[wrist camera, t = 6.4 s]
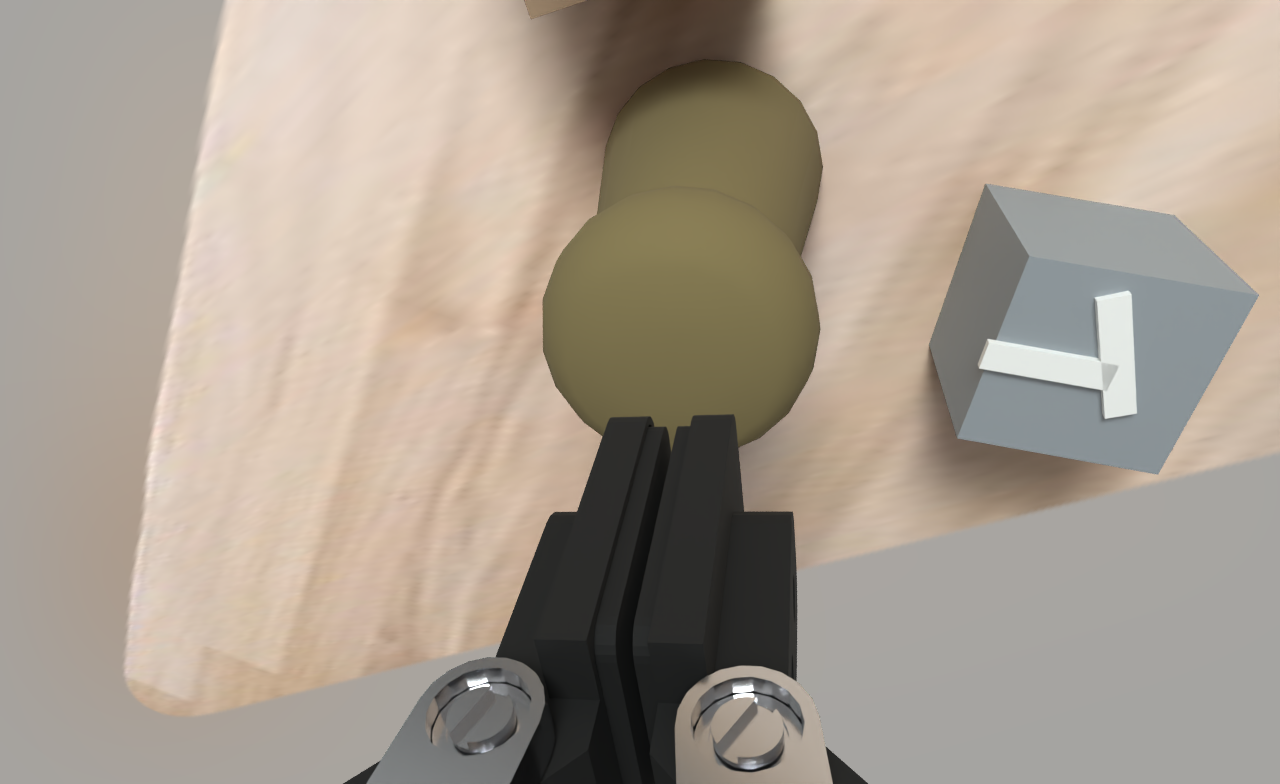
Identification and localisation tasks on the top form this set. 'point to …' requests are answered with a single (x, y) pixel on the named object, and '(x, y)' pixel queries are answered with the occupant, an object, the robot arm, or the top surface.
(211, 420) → the top surface
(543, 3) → the walnut numeral block
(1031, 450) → the slate numeral block
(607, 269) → the cork
